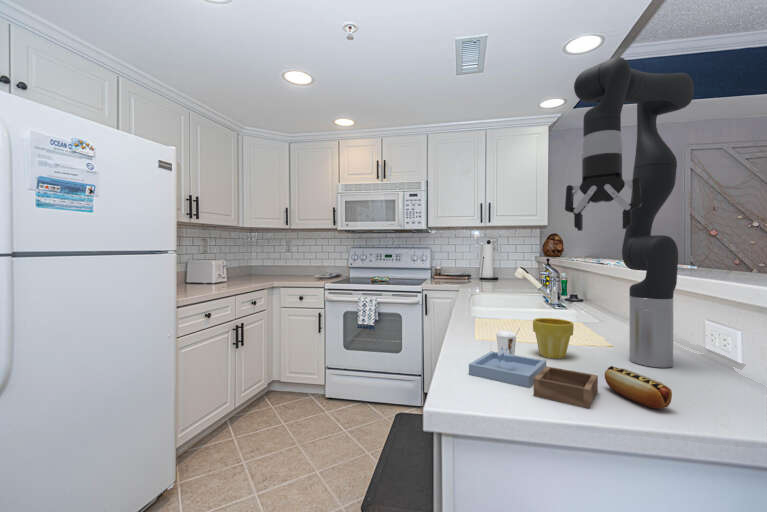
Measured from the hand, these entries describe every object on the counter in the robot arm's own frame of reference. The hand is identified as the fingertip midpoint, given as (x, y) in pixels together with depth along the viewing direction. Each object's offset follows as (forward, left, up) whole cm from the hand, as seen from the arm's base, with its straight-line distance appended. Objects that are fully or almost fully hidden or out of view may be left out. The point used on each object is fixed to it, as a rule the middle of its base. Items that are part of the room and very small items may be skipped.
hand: (601, 229), depth 79 cm
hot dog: (+6, +6, -34) cm, 36 cm away
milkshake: (+5, -19, -33) cm, 39 cm away
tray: (+5, -19, -34) cm, 39 cm away
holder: (+11, -5, -34) cm, 36 cm away
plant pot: (-17, -14, -34) cm, 41 cm away
